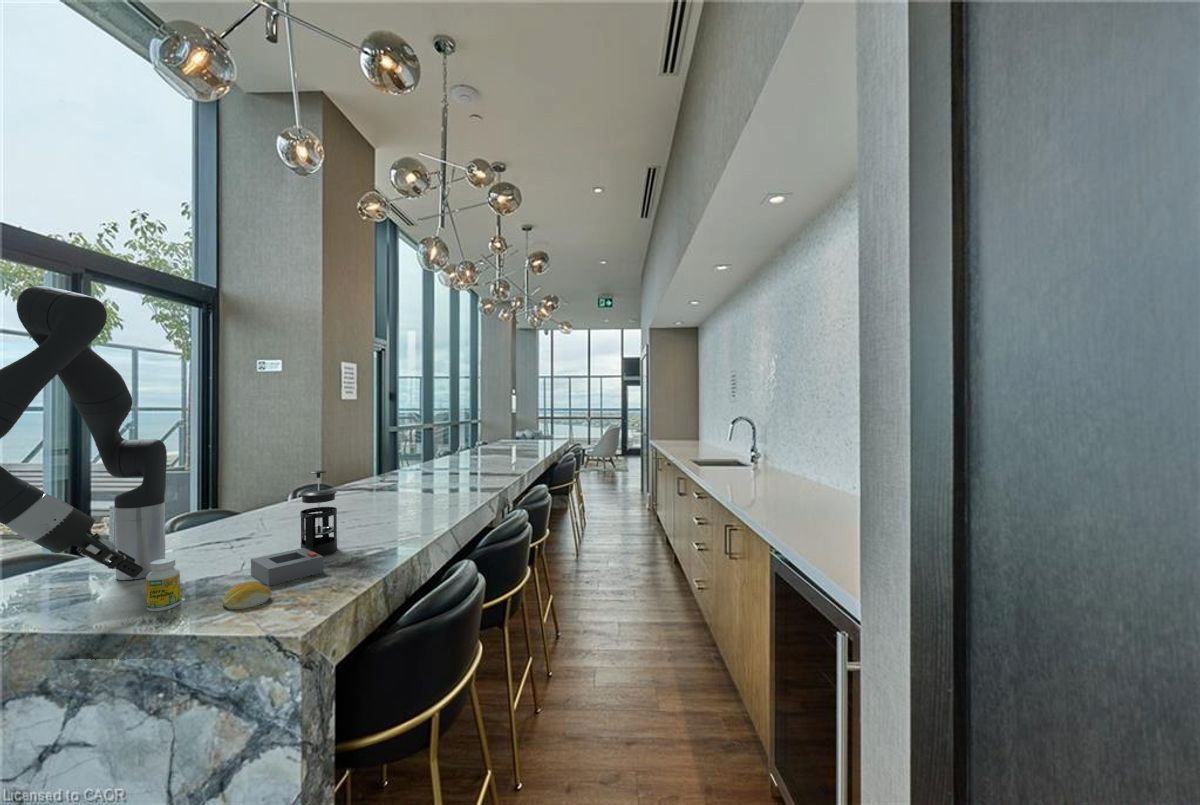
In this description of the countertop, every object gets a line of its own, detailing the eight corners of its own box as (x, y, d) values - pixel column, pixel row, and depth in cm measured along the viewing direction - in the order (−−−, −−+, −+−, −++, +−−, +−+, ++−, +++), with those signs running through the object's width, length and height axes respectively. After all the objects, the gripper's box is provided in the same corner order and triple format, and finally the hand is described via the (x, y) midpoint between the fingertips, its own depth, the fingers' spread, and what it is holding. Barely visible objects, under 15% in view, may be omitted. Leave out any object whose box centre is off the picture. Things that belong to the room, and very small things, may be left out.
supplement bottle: (181, 599, 111) (181, 555, 111) (178, 608, 107) (178, 561, 107) (149, 605, 108) (148, 559, 108) (144, 614, 104) (143, 566, 104)
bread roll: (260, 592, 116) (260, 574, 116) (275, 601, 110) (275, 583, 110) (216, 603, 110) (216, 584, 110) (229, 614, 104) (229, 594, 104)
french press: (310, 547, 150) (309, 468, 149) (344, 546, 150) (343, 467, 150) (290, 560, 138) (289, 474, 138) (327, 559, 139) (326, 473, 139)
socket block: (251, 575, 126) (250, 556, 126) (303, 562, 136) (303, 545, 136) (268, 586, 119) (268, 566, 119) (323, 572, 128) (323, 554, 128)
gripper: (75, 511, 93) (159, 559, 102) (67, 501, 102) (145, 546, 111) (32, 547, 89) (123, 594, 97) (27, 533, 98) (111, 577, 107)
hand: (135, 568), depth 104 cm, fingers open, 8 cm apart
